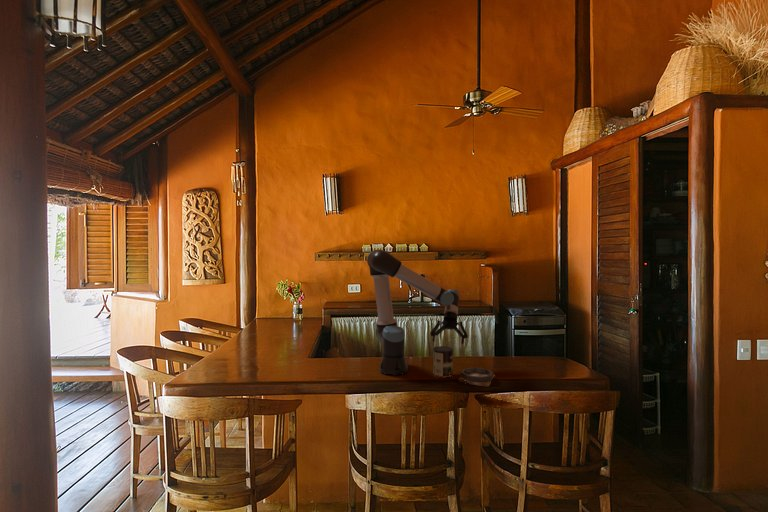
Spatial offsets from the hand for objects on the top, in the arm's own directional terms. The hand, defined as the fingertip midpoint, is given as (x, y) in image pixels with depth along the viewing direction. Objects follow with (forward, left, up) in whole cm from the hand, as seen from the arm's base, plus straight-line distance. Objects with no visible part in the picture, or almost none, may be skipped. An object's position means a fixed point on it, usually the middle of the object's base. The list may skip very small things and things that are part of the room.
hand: (447, 347), depth 255 cm
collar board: (+18, -7, -13) cm, 23 cm away
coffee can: (0, -7, -13) cm, 15 cm away
